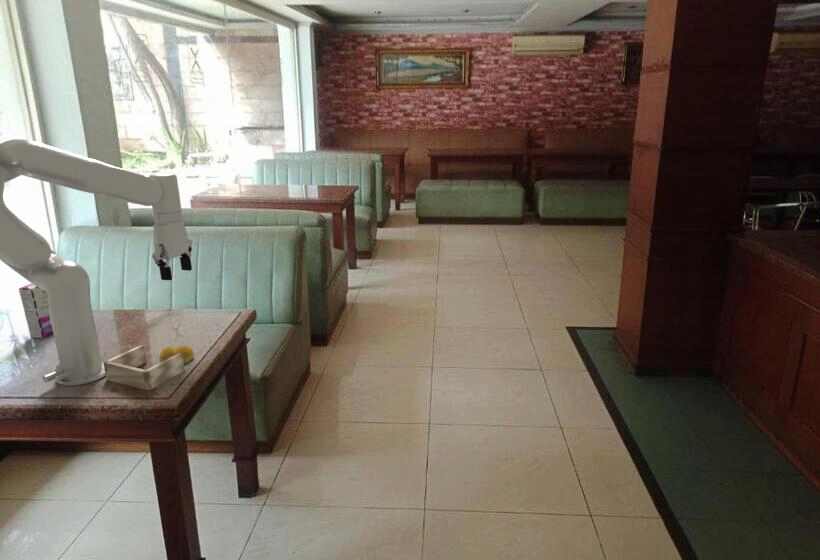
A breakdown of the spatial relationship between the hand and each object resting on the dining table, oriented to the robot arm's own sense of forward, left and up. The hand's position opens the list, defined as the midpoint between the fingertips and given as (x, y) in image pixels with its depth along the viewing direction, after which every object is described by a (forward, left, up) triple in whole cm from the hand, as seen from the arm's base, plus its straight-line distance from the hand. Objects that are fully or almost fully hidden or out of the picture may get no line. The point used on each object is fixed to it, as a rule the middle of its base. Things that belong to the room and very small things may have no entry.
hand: (177, 274), depth 169 cm
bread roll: (-12, -8, -21) cm, 25 cm away
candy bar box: (-12, +46, -21) cm, 51 cm away
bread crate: (-22, -8, -21) cm, 31 cm away
